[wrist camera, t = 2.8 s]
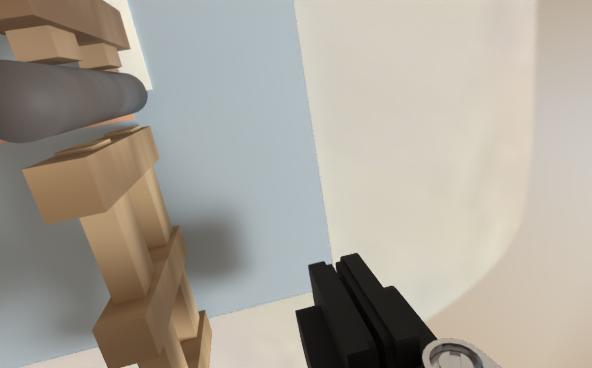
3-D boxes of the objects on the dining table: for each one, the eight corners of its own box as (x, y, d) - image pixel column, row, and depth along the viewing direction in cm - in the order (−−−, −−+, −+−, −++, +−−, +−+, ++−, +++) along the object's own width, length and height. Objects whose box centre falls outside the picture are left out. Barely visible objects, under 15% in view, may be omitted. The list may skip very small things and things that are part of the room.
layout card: (-507, -253, 8) (-553, -274, 7) (247, -284, 10) (248, -302, 10) (-78, 386, 14) (-89, 396, 14) (334, 280, 16) (337, 286, 16)
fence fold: (114, 129, 12) (18, 164, 7) (149, 123, 12) (84, 152, 7) (184, 339, 15) (157, 480, 9) (212, 332, 15) (200, 467, 9)
